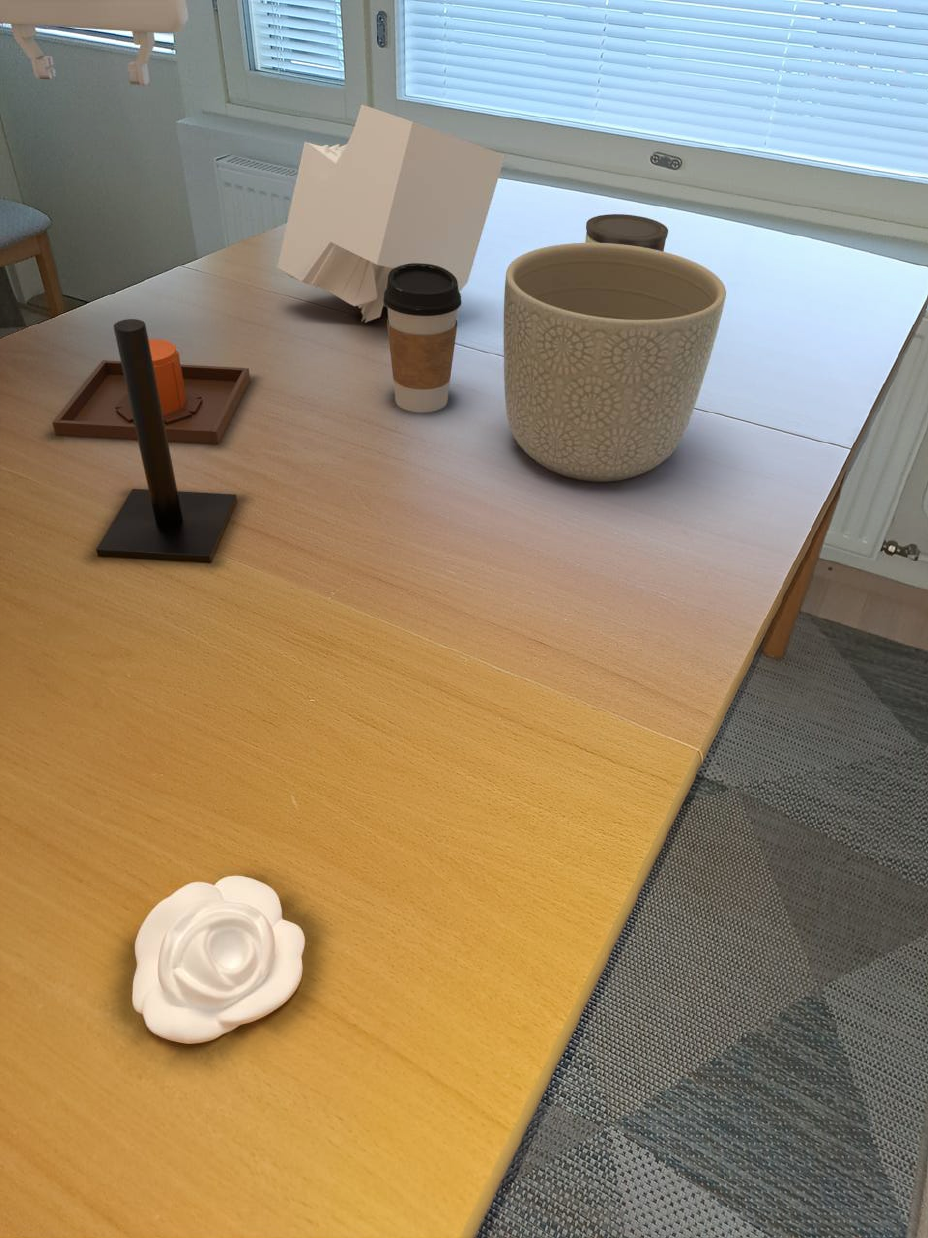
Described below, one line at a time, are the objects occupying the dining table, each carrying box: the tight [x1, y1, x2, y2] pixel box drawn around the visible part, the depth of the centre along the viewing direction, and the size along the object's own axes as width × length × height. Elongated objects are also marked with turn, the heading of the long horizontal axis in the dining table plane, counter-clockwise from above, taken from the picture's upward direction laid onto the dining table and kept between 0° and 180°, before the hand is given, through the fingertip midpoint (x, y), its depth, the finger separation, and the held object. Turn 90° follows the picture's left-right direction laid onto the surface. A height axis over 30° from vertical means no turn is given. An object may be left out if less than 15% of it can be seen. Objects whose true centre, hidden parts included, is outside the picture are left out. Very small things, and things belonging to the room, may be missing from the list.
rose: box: [131, 875, 306, 1045], centre depth 51 cm, size 10×4×10 cm
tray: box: [51, 359, 251, 446], centre depth 101 cm, size 17×15×2 cm
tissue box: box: [276, 104, 506, 323], centre depth 119 cm, size 20×16×25 cm
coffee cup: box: [383, 263, 463, 414], centre depth 101 cm, size 8×8×15 cm
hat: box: [116, 338, 202, 425], centre depth 100 cm, size 9×9×7 cm
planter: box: [503, 242, 727, 483], centre depth 93 cm, size 21×21×19 cm
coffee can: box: [584, 213, 669, 252], centre depth 119 cm, size 10×10×14 cm
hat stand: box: [95, 318, 238, 564], centre depth 78 cm, size 10×10×20 cm
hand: (92, 80), depth 91 cm, fingers open, 8 cm apart
